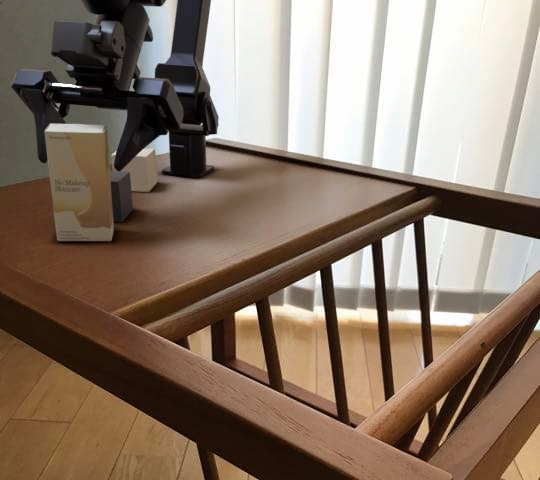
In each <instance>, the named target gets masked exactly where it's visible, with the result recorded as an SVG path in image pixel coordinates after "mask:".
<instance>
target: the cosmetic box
mask: <svg viewBox="0 0 540 480" xmlns="http://www.w3.org/2000/svg"><path fill="white" fill-rule="evenodd" d="M45 139H46V148H47V157H48V161H47V165H48V173H49V183H50V191H51V198H52V199H51V200H52V207H53V216H54V217H53V218H54V225H55V233H56V240H57V241H58V242H112V239H113V237H114V231H115V227H114V225H115V224H114V221H113V209H112V196H111V180H110V171H111V168H110V153H109V139H108V125H105V124H83V123H67V124H49V126H48V127H47V128H46V129H45Z"/></svg>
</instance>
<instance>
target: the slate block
mask: <svg viewBox="0 0 540 480" xmlns="http://www.w3.org/2000/svg"><path fill="white" fill-rule="evenodd" d="M110 180H111V196H112V209H113V222H120V223H122V222H123V221H124V220H125V219H126V218H127V217H128V216H130V213H132V211H133V210H134V207H133V196H132V195H133V194H132V191H131V181H130V172H127V171H113V170H110Z"/></svg>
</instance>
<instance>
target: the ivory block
mask: <svg viewBox="0 0 540 480" xmlns="http://www.w3.org/2000/svg"><path fill="white" fill-rule="evenodd" d="M116 152H117V150H115V151H114V152H113V153H112V154H111V155H110V156H111V164H112V165H111V167H112V171H117V170H116V169H115V168H114V161H115V156H116ZM156 161H157V157H156V148H148V147H145V148H144V149H143V150H142V151H141V152H140V153H138V154H137V155H136V156H135V157H134V158H133V159H132V160H131V161H130V162H129V163H128V164H127V165H126V166H125V167H124V168H123V169H122V170H121V171H127V172H130V181H131V192H139V193H140V192H141V193H150V192H151V190H152V189H153V188H154V187H155V186H156V185H157V184H158V176H157V175H158V174H157V162H156Z"/></svg>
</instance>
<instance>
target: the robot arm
mask: <svg viewBox="0 0 540 480" xmlns="http://www.w3.org/2000/svg"><path fill="white" fill-rule="evenodd" d="M78 1H79V3H80V4H81V6H82V8H83V9H84V10H85V11H86V12H88V13H90V14H92V15H96V17H95V21H94V23H91V22H86V21H71V20H70V21H69V20H54V21H53V23H52V33H51V43H50V44H51V46H50V54H51V56H52V57H54V58H58V59H60V60H61V61H63V62H64V63H65V64H67V65H66V68H65V72H66V73H67V75H68V76H69V78H70V79H74V80H75V84H70V83H69V84H66V83H60V82H59V81H58V79H57V78H56V77H55V75H54V73H53V72H52V71H51V70H45V69H44V70H43V69H34V68H33V69H32V68H21V69H17V70H16V73H15V75H14V77H13V81H12V83H11V87H10V88H11V89H12V90H13V91H14V92H15V93H16V95H17V96H18V97H19V98H20V100H21V101H22V102H23V104H24V105H25V106H26V107H27V108H28V109H29V111H30V112H31V113H32V115H33V119H34V125H35V136H36V137H35V139H36V150H37V152H36V153H37V159H38V160H39V162H40V163H41V164H47V163H48V157H47V148H46V139H45V129H46V128H47V127H48V126H49V124H68V123H67V122H66V120H65V119H64V118H66V116H68V115H69V112H70V109H71V105H72V106H84V107H85V106H86V107H95V108H97V109H100V110H101V109H102V110H112V111H113V110H114V111H124V112H125V111H126V121H125V123H124V126H123V130H122V133H121V136H120V139H119V142H118V146H117V148H116V151H117V152H116V151H115V152H116V156H115V161H114V168H115V169H116V170H117V171H121V170H122V169H123V168H124V167H125V166H126V165H127V164H128V163H129V162H130V161H131V160H132V159H133V158H134V157H135V156H136V155H137V154H138V153H140V152H141V151H142V150H143V149H144V148H147V147H148V146H149V145H150V144H152V143H153V142H154V141H155V140H156V139H158V138H159V137H160V136H167V135H168V150H169V151H168V153H169V165H168V166H166V167H165V168H163V169H161V173H162V174H165V175H174V176H181V177H189V178H201V177H202V176H205V175H206V174H207V173H210V172H211V171H214V170H215V165H212V164H207V137H208V136H211V135H217V134H218V129H219V128H218V127H219V126H220V125H219V114H218V111H217V109H216V106H215V104H214V102H213V99H212V96H211V84H210V83H209V80H208V78H207V75H206V73H205V70H204V68H203V67H204V66H203V65H204V57H205V55H204V54H205V49H206V42H207V34H208V28H209V27H208V26H209V19H210V11H211V4H212V0H177V1H176V9H175V17H174V25H173V34H172V40H171V49H170V55H169V58H168V59H167V60H166V61H165V62H164V63H163V62H159V63H157V64H156V67H155V69H154V77H142V76H141V73H142V72H141V70H140V68H139V66H138V61H139V58H140V55H141V52H142V48H143V44H144V42H145V43H152V42H153V41H154V35H153V30H152V27H151V26H150V17H149V15H148V13H147V11H146V9H145V7H157V8H158V7H162V6H164V4H165V3H166V2H167V0H78ZM132 82H133V84H132ZM131 85H132V90H130V88H131Z"/></svg>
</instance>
